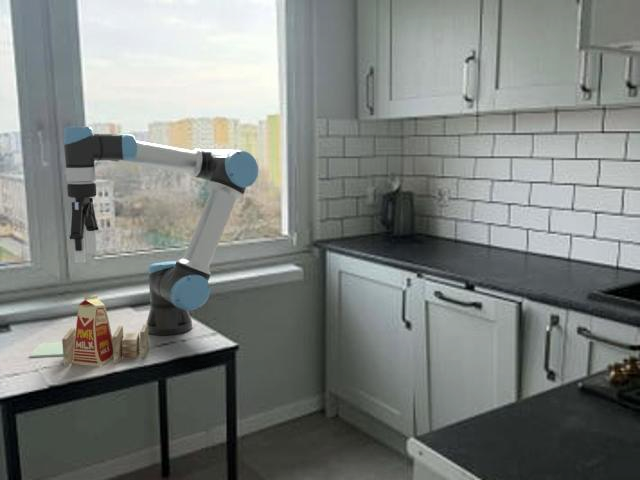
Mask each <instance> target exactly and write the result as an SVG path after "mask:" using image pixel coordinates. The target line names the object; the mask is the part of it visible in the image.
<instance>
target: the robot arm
mask: <svg viewBox="0 0 640 480" xmlns="http://www.w3.org/2000/svg"><path fill="white" fill-rule="evenodd" d="M63 148H64V159H65V170H64V171H63V173H64V175H66V181H67V185H66V190H67V191H66V192H67V196H68V197H69V198H71V199H72V198H74V199H75V200H74V202H71V220H70V221H71V223H70V225H71V226H70V235H69V239H70V240H73V241H72V242H73V252H74V253H73V255H74V263H76V264H77V263H86V262H87V257H86V254H97V253H98V244H97V243H98V242H97V231H99V230H100V229H99V226H98V222H97V218H96V211H95V206H94V199H93V197H96V196H97V185H96V183H95V182H96V179H97V177H96V167H95V166H96V165H95V161H96V162H100V161H108V162H109V161H110V162H117V163H123V164H129V165H136V166H143V167H147V168H154V169H161V170H167V171H174V172H180V173H186V174H189V175H190V176H191V177H192V178H198V179H202V180H206V181H209V185H210V188H211V190H210V192H209V195H208V198H207V199H206V202H205V204H204V207H203V208H202V212H201V214H200V217H199V219H198V222H197V224H196V226H195V229H194V230H193V234H192V236H191V239H190V240H189V243H188V245H187V248H186V250H185V253H184V255H183V256H182V258H180V259H177V260H171V261H162V262H156V263H152V264H150V265H149V266H148V275H147V276H148V283H149V284H148V285H149V286H148V287H149V303H150V309H149V312H148V315H147V320H146V324H145V325H148V334H151V335H154V336H155V335H156V336H171V335H172V336H174V335H179V334H183V333H186V332H188V331H190V330H192V328H193V321H192V317H191V314H190V312H189V311H194V310H197V309H199V308H201V307H202V306H204V304H205V303H206V302H208V299H209V297H210V294H211V286H210V284H209V280H210V278H211V275H212V272H211V270H210V266H211V262H212V260H213V258H214V255H215V252H216V250H217V248H218V245H219V242H220V241H221V237H222V236H223V233H224V230H225V227H226V225H227V224H228V221H229V219H230V215H231V213H232V212H233V211H232V210H233V208H234V206H235V204H236V201H237V199H240V198H242V197H243V196H244V194H245V193H246V190H247V188H248V187H250V186H252V185H253V184H254V183H255V182H256V180H257V178H258V175H259V166H258V164H257V160H256V159H255V157H254V156H253V155H252V154H251V153H250V152H248V151H245V150H241V149H237V148H236V149H202V148H195V149H193V150H192V149H191V150H190V149H185V148H178V147H175V146H174V147H173V146H168V145H163V144H157V143H153V142H152V143H151V142H147V141H140V140H137V139H136V137H135V135H133V134H131V133H130V134H129V133H94V132H93V128H92V127H91V126H65V128H64V129H63ZM85 229H86V231H85ZM84 234H85V238H84ZM85 242H86V244H85Z"/></svg>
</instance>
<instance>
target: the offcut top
mask: <svg viewBox="0 0 640 480" xmlns="http://www.w3.org/2000/svg"><path fill="white" fill-rule="evenodd" d="M138 341H139V342H140V333H139V332H130V333H125V334H123V339H122V345H123V347H126V346H137V344H138Z"/></svg>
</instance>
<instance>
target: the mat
mask: <svg viewBox="0 0 640 480" xmlns="http://www.w3.org/2000/svg"><path fill="white" fill-rule="evenodd" d="M47 357H48V358H49V357H50V358H52V357H63V344H62V341H60V342H59V341H58V342H41V343H39V344H38V346H36V347H35V349H34V350H33V351H32V352H31V353H30V354H29V355H28V358H29V359H30V358H31V359H33V358H47Z"/></svg>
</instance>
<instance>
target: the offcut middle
mask: <svg viewBox="0 0 640 480" xmlns="http://www.w3.org/2000/svg"><path fill="white" fill-rule="evenodd" d="M139 346H140V347H141V342H140V340H139V341H138V344H137V346H126V347H123V346H122V353H132V352H137V350H138V348H139Z"/></svg>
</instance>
